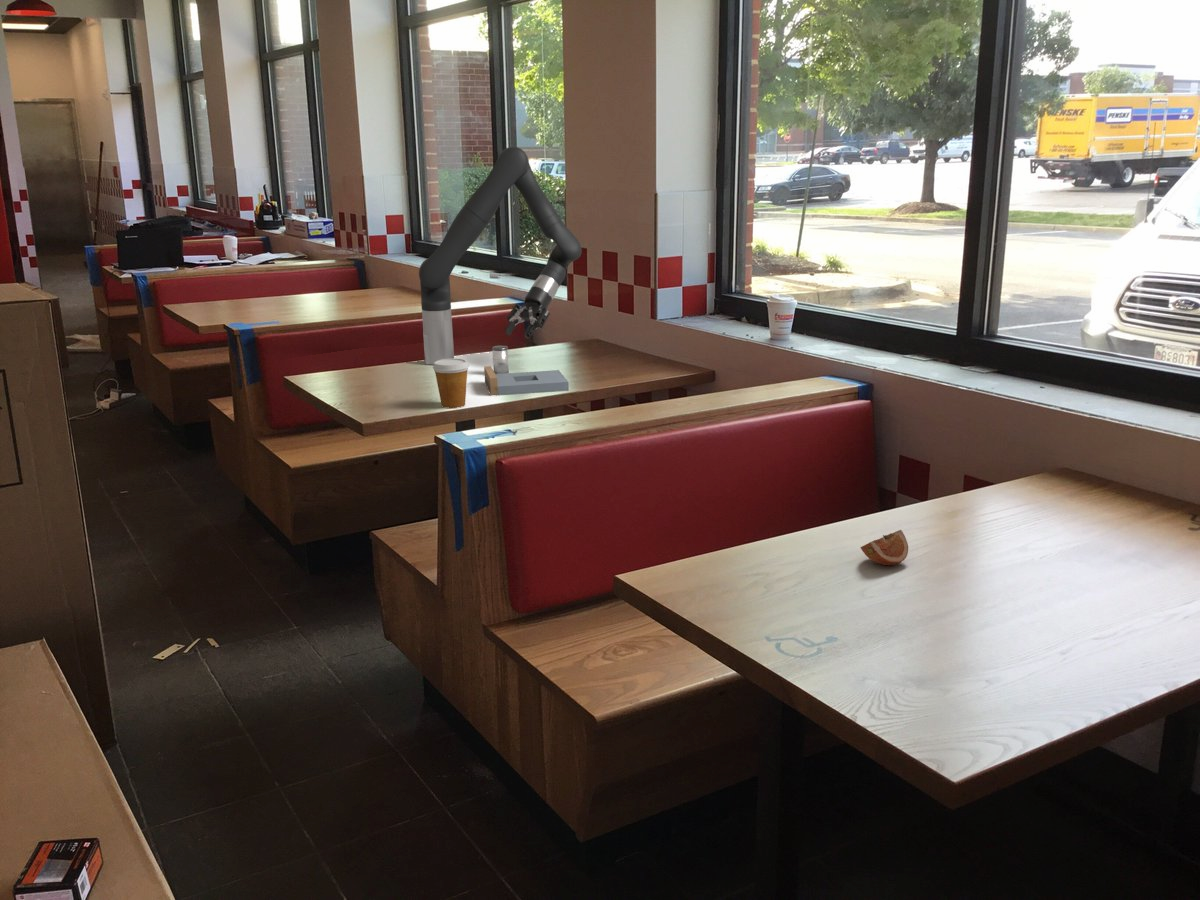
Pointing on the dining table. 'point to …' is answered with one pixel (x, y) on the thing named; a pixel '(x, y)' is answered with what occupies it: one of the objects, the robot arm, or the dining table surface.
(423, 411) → the dining table surface
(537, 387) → the jig
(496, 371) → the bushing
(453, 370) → the disposable coffee cup
